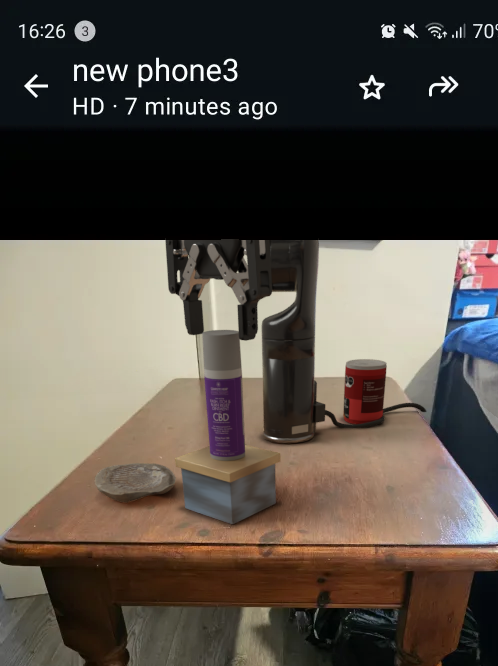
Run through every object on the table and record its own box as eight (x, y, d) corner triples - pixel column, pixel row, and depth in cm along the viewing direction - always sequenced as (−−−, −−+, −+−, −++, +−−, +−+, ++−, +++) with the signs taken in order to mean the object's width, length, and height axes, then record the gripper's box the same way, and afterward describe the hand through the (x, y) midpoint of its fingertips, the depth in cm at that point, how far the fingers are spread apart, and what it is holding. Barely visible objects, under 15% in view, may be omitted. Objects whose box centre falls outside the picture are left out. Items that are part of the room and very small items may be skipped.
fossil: (182, 505, 83) (181, 487, 82) (99, 513, 80) (97, 495, 79) (170, 476, 91) (169, 459, 90) (94, 482, 88) (91, 465, 87)
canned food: (350, 413, 122) (353, 358, 116) (387, 417, 119) (391, 360, 113) (337, 422, 116) (339, 364, 111) (375, 427, 113) (380, 367, 108)
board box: (229, 487, 87) (226, 439, 83) (281, 503, 82) (280, 452, 78) (179, 508, 81) (174, 457, 77) (232, 527, 75) (229, 473, 71)
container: (213, 462, 75) (204, 336, 67) (207, 451, 79) (198, 330, 71) (249, 458, 76) (244, 333, 68) (241, 448, 80) (235, 328, 72)
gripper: (286, 165, 59) (286, 337, 68) (189, 175, 67) (201, 329, 76) (236, 160, 55) (244, 346, 63) (138, 172, 62) (157, 336, 71)
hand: (220, 336), depth 70 cm, fingers open, 8 cm apart
